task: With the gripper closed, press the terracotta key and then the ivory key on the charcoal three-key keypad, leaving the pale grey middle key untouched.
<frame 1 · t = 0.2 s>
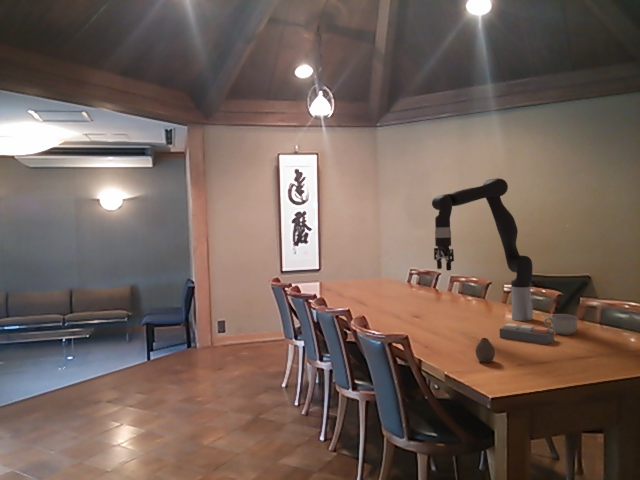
hand: (444, 269, 236), 29 cm above the table, fingers open, 8 cm apart
teacup: (560, 333, 220), on the table
keypad: (526, 339, 212), on the table
vase: (485, 361, 183), on the table
key grey: (526, 329, 212), point 4 cm above the table, slide at 0.0 cm
key terracotta: (541, 331, 207), point 4 cm above the table, slide at 0.0 cm
key ivory: (511, 327, 216), point 4 cm above the table, slide at 0.0 cm
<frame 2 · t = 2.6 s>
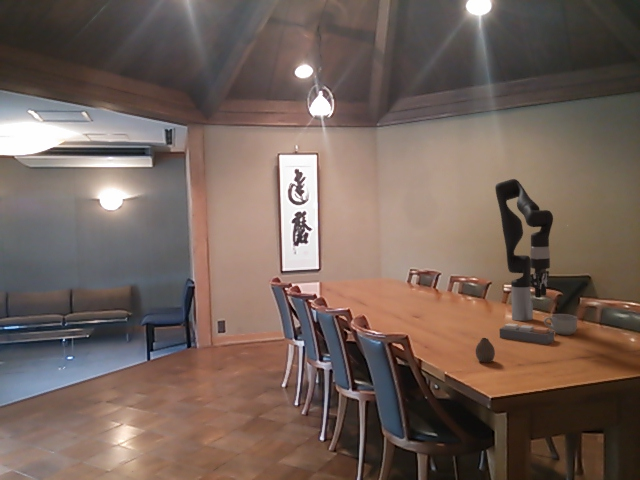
hand: (540, 296, 207), 20 cm above the table, fingers open, 5 cm apart
nothing on the table moved.
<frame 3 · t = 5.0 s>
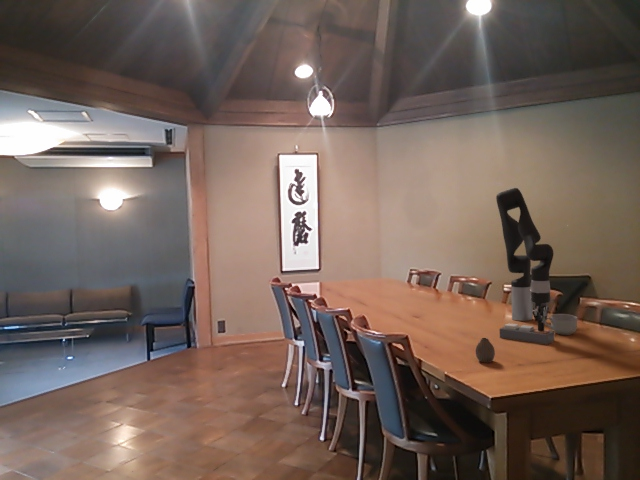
hand: (541, 330, 207), 5 cm above the table, fingers closed
key terracotta: (541, 333, 207), point 3 cm above the table, slide at 0.9 cm, touching gripper
everything else where it was.
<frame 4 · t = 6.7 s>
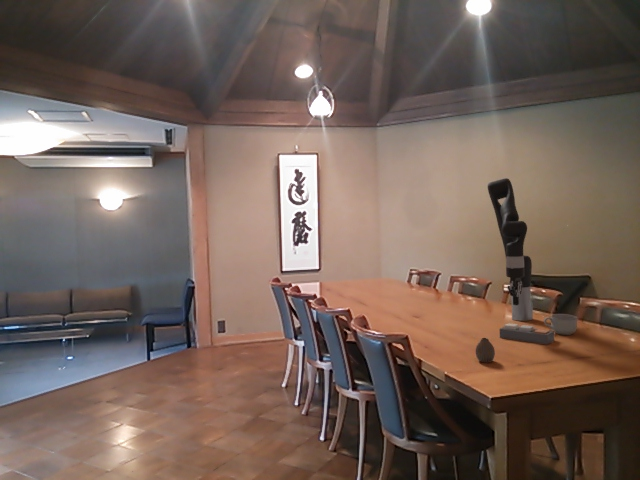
hand: (516, 304, 215), 15 cm above the table, fingers closed
key terracotta: (541, 333, 207), point 3 cm above the table, slide at 1.0 cm
everything else where it was.
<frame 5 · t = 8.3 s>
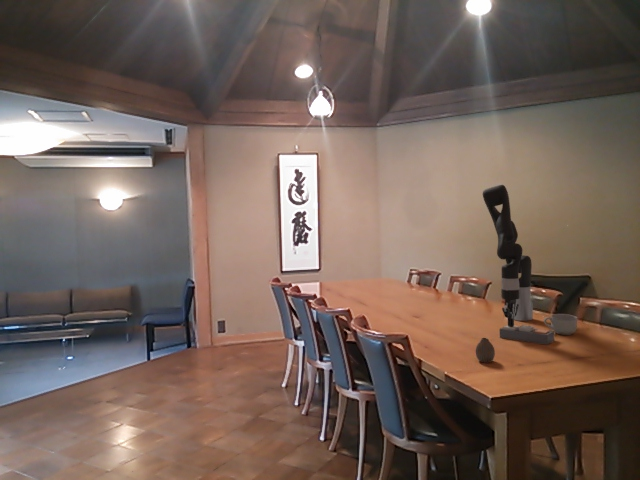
hand: (510, 326, 216), 5 cm above the table, fingers closed
key ivory: (511, 329, 216), point 4 cm above the table, slide at 0.8 cm, touching gripper
everything else where it was.
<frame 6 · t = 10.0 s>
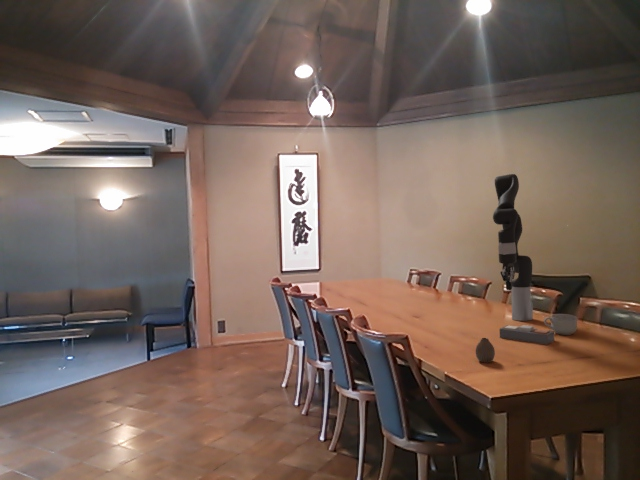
hand: (509, 289, 222), 20 cm above the table, fingers closed
key ivory: (511, 329, 216), point 3 cm above the table, slide at 1.0 cm
everything else where it was.
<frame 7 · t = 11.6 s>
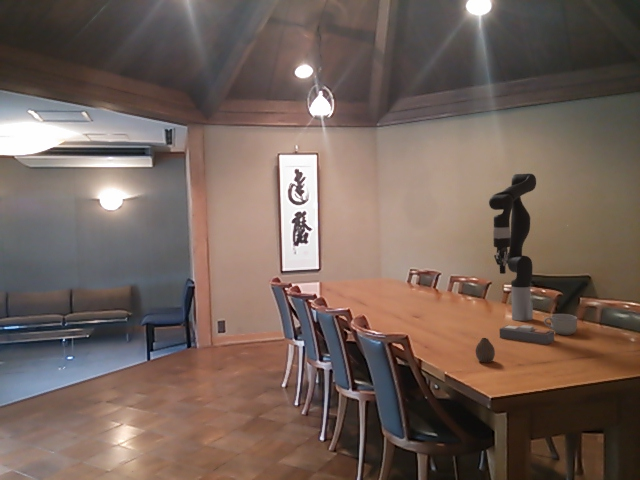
hand: (502, 273, 229), 27 cm above the table, fingers closed
nothing on the table moved.
at the end: key terracotta slide at 1.0 cm; key ivory slide at 1.0 cm; key grey slide at 0.0 cm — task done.
